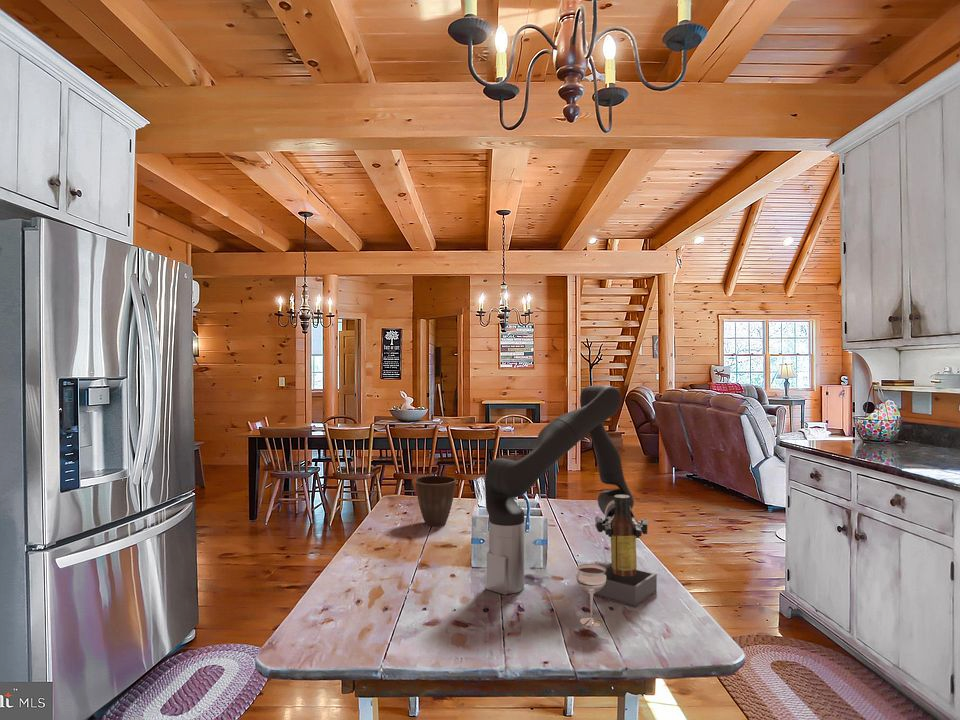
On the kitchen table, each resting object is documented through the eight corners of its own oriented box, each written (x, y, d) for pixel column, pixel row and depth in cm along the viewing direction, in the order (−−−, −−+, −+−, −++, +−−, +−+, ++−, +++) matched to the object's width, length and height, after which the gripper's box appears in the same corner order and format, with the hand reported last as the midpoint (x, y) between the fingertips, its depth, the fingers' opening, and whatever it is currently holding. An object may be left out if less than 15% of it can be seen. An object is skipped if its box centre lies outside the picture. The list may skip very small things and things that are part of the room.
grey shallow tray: (635, 607, 142) (635, 588, 142) (588, 594, 150) (588, 576, 150) (656, 591, 152) (656, 573, 152) (611, 580, 160) (611, 563, 160)
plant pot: (454, 529, 207) (455, 484, 207) (412, 529, 207) (412, 483, 207) (457, 518, 222) (457, 475, 222) (417, 518, 222) (417, 475, 222)
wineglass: (600, 631, 130) (600, 576, 130) (571, 623, 133) (571, 570, 133) (611, 619, 135) (611, 567, 135) (583, 612, 139) (583, 561, 139)
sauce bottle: (641, 574, 151) (642, 496, 150) (626, 580, 147) (627, 500, 146) (619, 567, 156) (620, 491, 155) (605, 573, 152) (605, 495, 151)
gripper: (593, 501, 166) (594, 517, 150) (645, 503, 164) (653, 519, 147) (593, 527, 166) (594, 547, 150) (645, 530, 164) (653, 550, 148)
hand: (623, 533), depth 149 cm, fingers closed on sauce bottle, 6 cm apart
